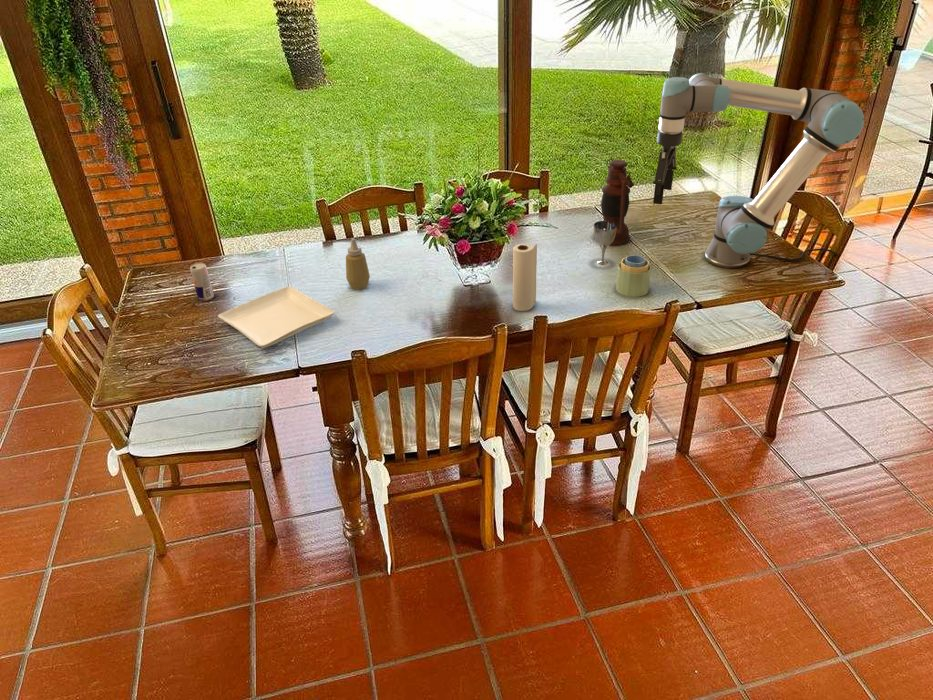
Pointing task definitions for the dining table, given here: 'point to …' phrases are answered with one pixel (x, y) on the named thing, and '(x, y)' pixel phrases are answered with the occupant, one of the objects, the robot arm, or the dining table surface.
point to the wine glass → (604, 236)
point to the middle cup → (633, 269)
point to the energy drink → (201, 281)
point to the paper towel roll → (524, 276)
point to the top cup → (635, 261)
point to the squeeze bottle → (356, 267)
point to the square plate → (276, 316)
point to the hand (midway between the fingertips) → (662, 196)
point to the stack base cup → (632, 282)
